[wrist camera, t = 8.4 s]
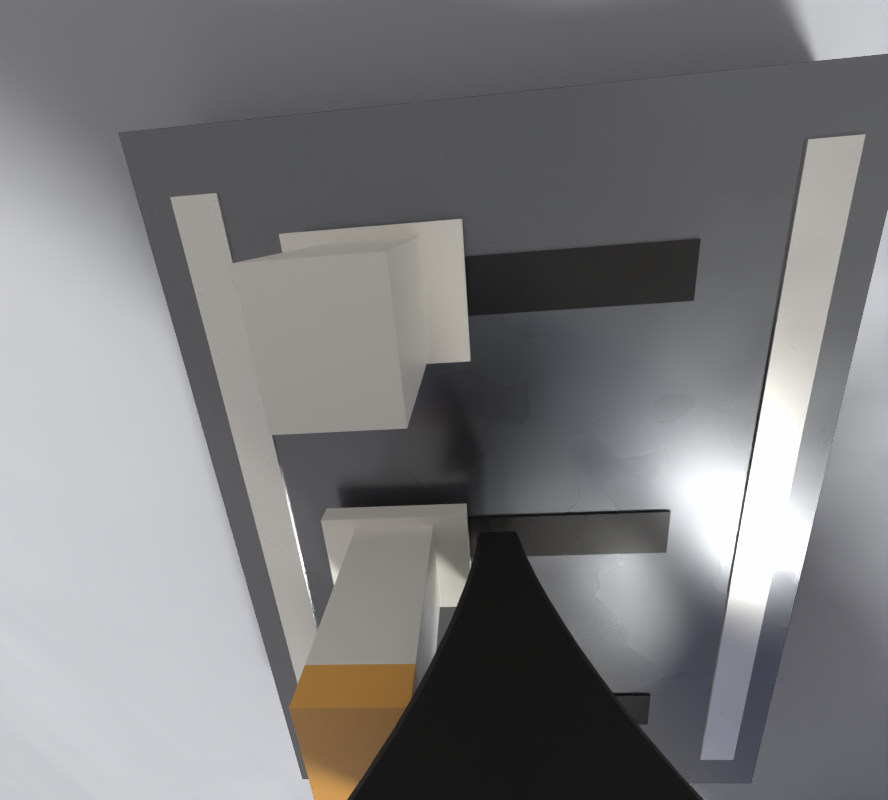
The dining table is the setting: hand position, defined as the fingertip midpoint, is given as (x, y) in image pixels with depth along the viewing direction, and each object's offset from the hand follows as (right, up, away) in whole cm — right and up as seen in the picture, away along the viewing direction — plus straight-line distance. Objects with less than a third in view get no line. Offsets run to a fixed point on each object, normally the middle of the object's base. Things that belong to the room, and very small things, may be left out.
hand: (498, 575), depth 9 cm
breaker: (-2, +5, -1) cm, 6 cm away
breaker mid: (-2, 0, +1) cm, 2 cm away
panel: (+1, +1, +3) cm, 3 cm away
